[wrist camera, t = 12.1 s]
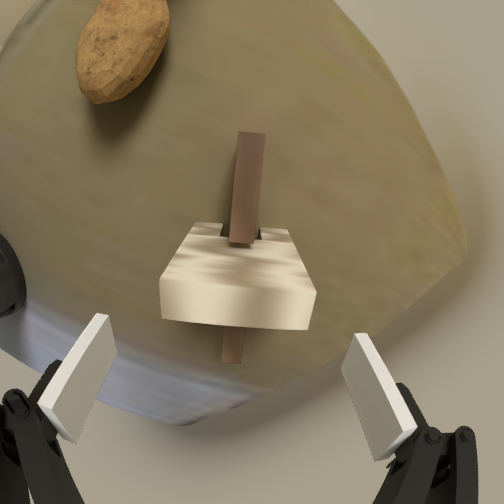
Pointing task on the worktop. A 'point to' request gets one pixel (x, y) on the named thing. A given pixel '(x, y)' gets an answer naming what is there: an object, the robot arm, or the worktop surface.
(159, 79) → the worktop surface
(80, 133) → the worktop surface
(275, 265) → the birch plate
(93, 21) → the potato
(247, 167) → the walnut board
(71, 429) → the robot arm
